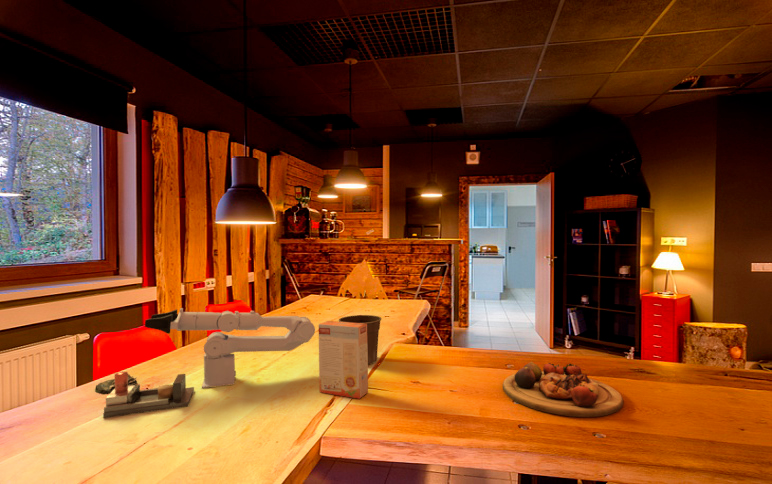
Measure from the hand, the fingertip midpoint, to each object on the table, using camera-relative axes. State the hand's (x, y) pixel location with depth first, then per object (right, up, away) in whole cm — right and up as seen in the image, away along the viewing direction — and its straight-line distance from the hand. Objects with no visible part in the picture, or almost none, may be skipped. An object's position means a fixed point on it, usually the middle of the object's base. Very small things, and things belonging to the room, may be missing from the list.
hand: (148, 320), depth 120 cm
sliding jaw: (0, -20, -12) cm, 23 cm away
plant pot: (+64, -21, +28) cm, 73 cm away
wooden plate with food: (+124, -21, -6) cm, 126 cm away
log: (-13, -23, +4) cm, 26 cm away
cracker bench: (+7, -22, -9) cm, 25 cm away
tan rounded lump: (+10, -20, -8) cm, 24 cm away
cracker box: (+61, -21, -3) cm, 64 cm away
